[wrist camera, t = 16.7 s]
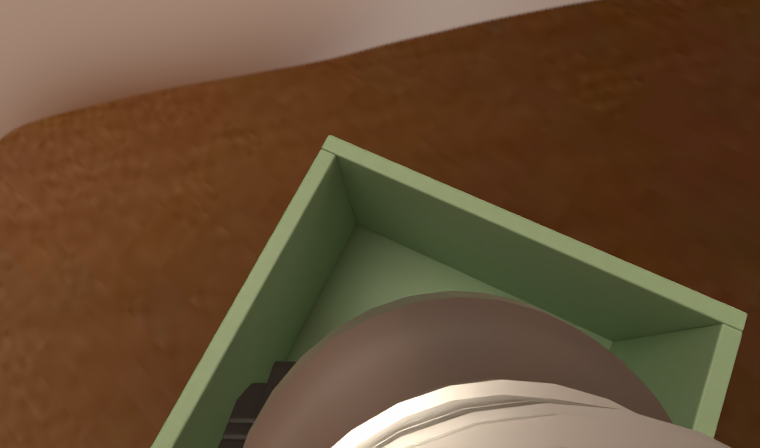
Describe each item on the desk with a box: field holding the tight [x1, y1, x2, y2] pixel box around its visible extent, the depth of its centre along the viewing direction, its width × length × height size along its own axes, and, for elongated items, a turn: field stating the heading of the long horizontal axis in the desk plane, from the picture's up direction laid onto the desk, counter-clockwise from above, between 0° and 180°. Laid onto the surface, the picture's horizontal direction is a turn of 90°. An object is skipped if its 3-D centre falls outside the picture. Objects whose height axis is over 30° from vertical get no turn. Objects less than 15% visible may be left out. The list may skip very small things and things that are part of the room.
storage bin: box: [151, 135, 747, 448], centre depth 18 cm, size 15×14×9 cm
